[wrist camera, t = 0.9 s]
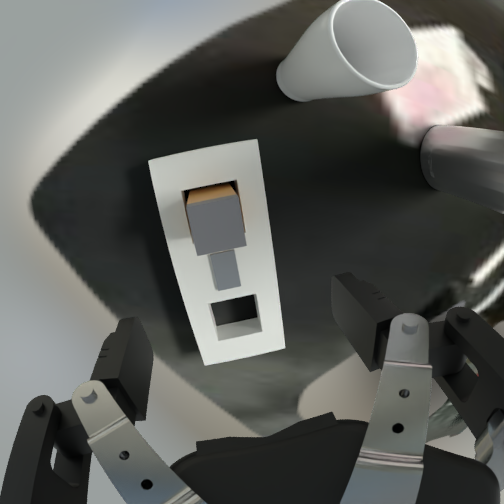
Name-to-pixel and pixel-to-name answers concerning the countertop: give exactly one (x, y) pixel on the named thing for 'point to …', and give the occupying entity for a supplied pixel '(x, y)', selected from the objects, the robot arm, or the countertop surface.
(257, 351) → the pdu strip
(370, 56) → the drinking glass
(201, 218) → the plug
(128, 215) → the countertop surface
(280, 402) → the countertop surface
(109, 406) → the robot arm
